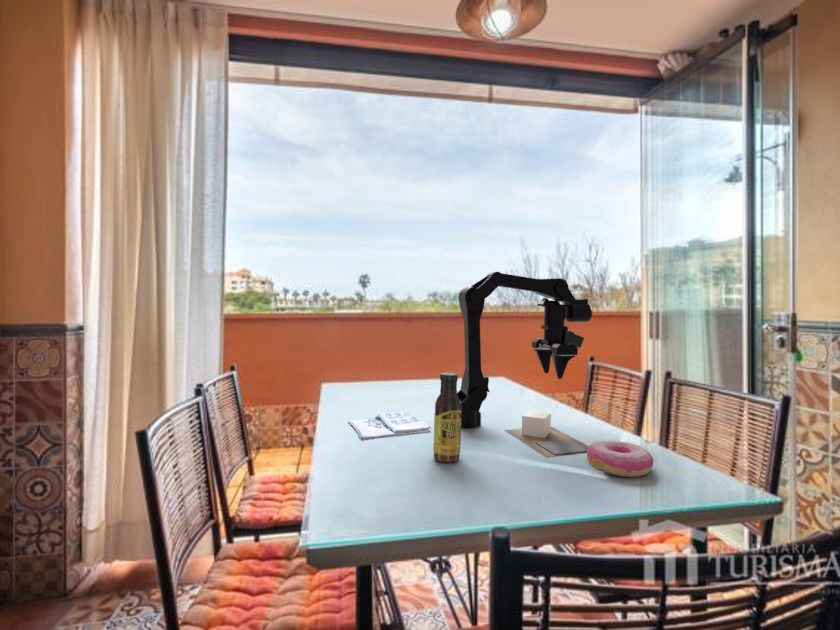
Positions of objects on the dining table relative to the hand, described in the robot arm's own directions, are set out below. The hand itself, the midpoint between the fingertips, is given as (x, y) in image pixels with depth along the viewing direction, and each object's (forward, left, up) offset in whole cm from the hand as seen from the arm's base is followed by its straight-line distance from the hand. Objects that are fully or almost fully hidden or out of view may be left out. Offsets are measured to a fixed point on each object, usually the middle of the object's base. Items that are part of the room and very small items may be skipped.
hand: (552, 375), depth 139 cm
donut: (-5, -35, -14) cm, 38 cm away
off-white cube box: (-11, -10, -13) cm, 20 cm away
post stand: (-11, -16, -14) cm, 24 cm away
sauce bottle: (-39, -19, -14) cm, 46 cm away
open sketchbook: (-47, +11, -15) cm, 50 cm away
